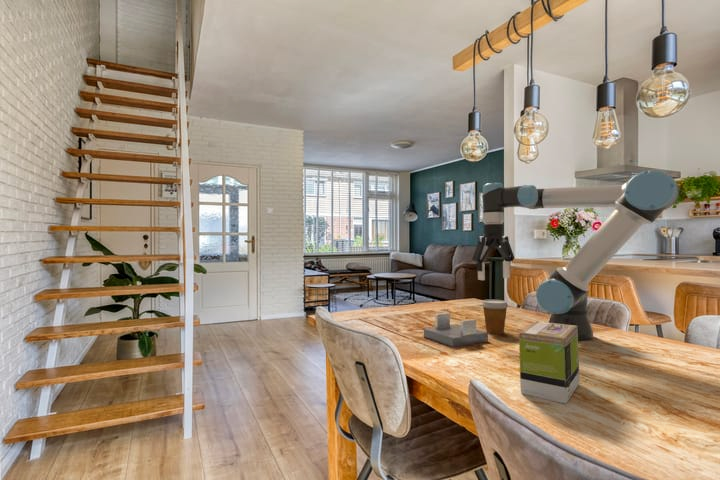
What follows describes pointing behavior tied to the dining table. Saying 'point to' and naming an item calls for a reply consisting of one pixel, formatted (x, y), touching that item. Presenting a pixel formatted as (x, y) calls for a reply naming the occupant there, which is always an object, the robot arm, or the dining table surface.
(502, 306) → the disposable coffee cup
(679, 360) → the dining table surface
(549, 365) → the tea box
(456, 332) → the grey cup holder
